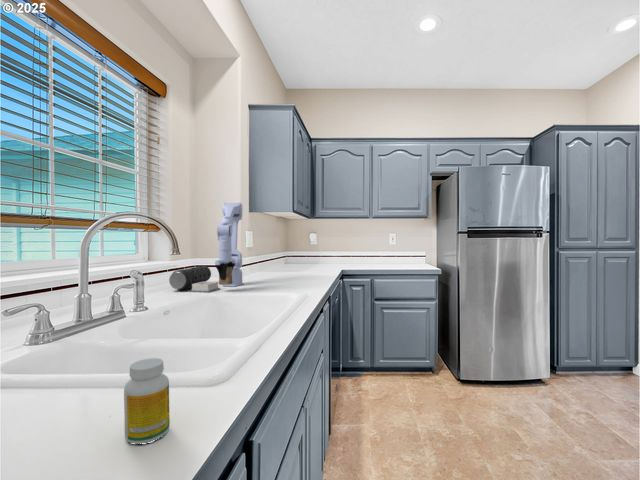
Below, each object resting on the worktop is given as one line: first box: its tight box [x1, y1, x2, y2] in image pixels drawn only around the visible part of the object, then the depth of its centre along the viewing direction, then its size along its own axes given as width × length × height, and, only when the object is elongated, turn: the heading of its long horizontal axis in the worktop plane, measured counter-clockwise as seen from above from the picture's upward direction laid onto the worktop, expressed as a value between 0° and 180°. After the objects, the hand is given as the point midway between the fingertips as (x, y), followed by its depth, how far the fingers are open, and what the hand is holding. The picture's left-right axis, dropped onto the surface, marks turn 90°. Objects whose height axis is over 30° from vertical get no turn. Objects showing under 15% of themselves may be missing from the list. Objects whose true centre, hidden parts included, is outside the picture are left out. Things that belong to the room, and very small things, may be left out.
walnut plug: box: [218, 267, 232, 286], centre depth 161 cm, size 4×4×9 cm
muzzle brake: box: [168, 265, 212, 291], centre depth 174 cm, size 10×28×10 cm, turn 174°
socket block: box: [189, 281, 221, 293], centre depth 163 cm, size 10×10×4 cm
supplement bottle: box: [123, 357, 171, 444], centre depth 45 cm, size 5×5×10 cm
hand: (225, 278), depth 161 cm, fingers closed on walnut plug, 4 cm apart
